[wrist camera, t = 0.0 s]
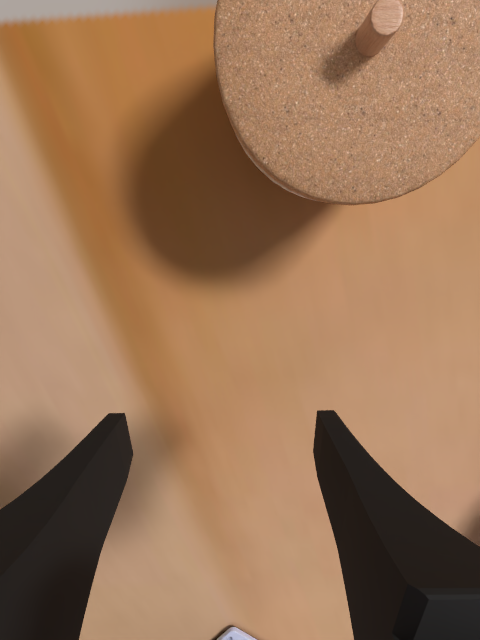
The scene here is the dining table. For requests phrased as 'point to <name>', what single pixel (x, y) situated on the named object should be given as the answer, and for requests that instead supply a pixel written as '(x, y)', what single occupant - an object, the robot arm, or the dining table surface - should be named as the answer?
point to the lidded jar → (350, 91)
